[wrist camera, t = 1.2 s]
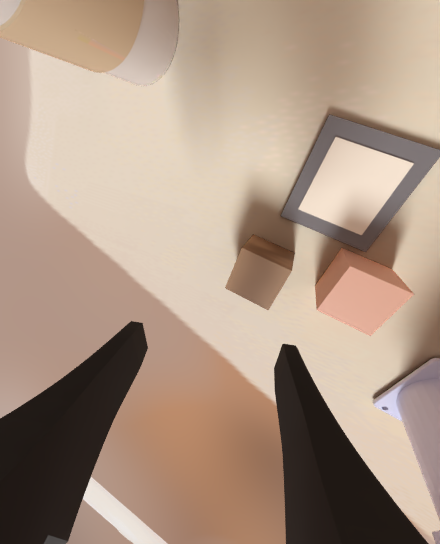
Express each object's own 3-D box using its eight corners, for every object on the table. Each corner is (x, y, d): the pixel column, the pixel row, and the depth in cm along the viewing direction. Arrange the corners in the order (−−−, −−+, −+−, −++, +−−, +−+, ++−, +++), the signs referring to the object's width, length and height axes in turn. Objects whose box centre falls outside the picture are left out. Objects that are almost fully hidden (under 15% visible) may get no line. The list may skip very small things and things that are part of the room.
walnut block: (294, 252, 18) (291, 270, 15) (274, 287, 20) (268, 310, 17) (253, 234, 19) (241, 247, 16) (238, 269, 21) (225, 288, 18)
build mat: (440, 151, 13) (445, 151, 12) (364, 250, 16) (366, 252, 16) (328, 115, 14) (329, 113, 13) (281, 215, 17) (280, 216, 17)
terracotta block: (391, 268, 16) (413, 294, 13) (358, 305, 18) (370, 336, 15) (341, 247, 17) (350, 266, 13) (315, 285, 19) (316, 309, 16)
